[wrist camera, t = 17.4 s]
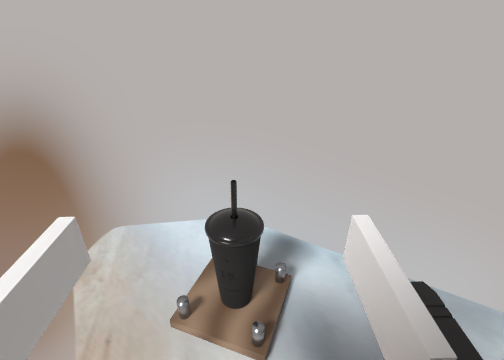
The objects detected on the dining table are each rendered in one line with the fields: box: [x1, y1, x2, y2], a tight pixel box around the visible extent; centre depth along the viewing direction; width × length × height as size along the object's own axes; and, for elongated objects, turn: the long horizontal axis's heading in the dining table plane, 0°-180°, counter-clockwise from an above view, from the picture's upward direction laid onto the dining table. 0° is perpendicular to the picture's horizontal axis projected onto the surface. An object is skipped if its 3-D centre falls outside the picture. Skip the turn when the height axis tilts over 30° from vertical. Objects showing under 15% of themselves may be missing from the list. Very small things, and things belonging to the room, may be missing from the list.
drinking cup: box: [205, 180, 264, 309], centre depth 39 cm, size 8×8×20 cm
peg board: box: [170, 258, 291, 360], centre depth 43 cm, size 14×14×4 cm
